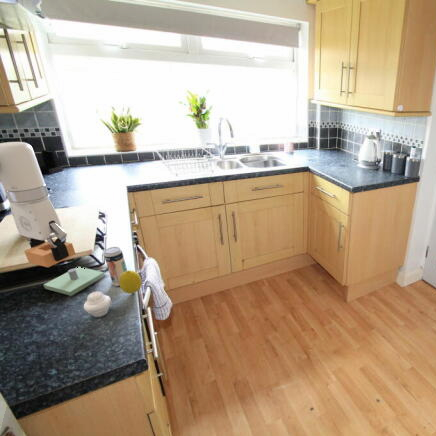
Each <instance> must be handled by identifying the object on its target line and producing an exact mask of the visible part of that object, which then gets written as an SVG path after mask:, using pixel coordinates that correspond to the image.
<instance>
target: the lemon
mask: <svg viewBox="0 0 436 436" xmlns="http://www.w3.org/2000/svg"><path fill="white" fill-rule="evenodd" d="M119 287H120V289H121V290H122V291H123V292H124V293H126V294H132V295H133V294H136V293H137V292H138V291H139V290H140V289H141V287H142V278H141V276H140V274H139V273H138V272H137V271H135V270H127V271H126V272H124V273H123V274H122V275H121V277H120V286H119Z"/></svg>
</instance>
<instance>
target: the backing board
mask: <svg viewBox="0 0 436 436" xmlns="http://www.w3.org/2000/svg"><path fill="white" fill-rule="evenodd" d="M77 267H78V268H77ZM77 267H75V268H70V269H69V270H67V272H65V273H63V274H61V275H60V276H59V275H58V277H55V278H54V279H52V280H50V281H48V282H46V283H43V287H44V289H45V290H48V291H53V292H55V293H59V294H63V295H67V296H69V297H70V296H71V297H72V296H74V295H76V294H77V293H79V292H81V291H82V290H84V289H86V288H87V287H90V286H91V285H92V284H95V283H96V282H98V281H100V280H101V279H103V278H105V277H106V275H105V272H104V271H99V270H97V269H91V268H88V267H83V268H81V267H82V266H77ZM84 268H85V269H84Z"/></svg>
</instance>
